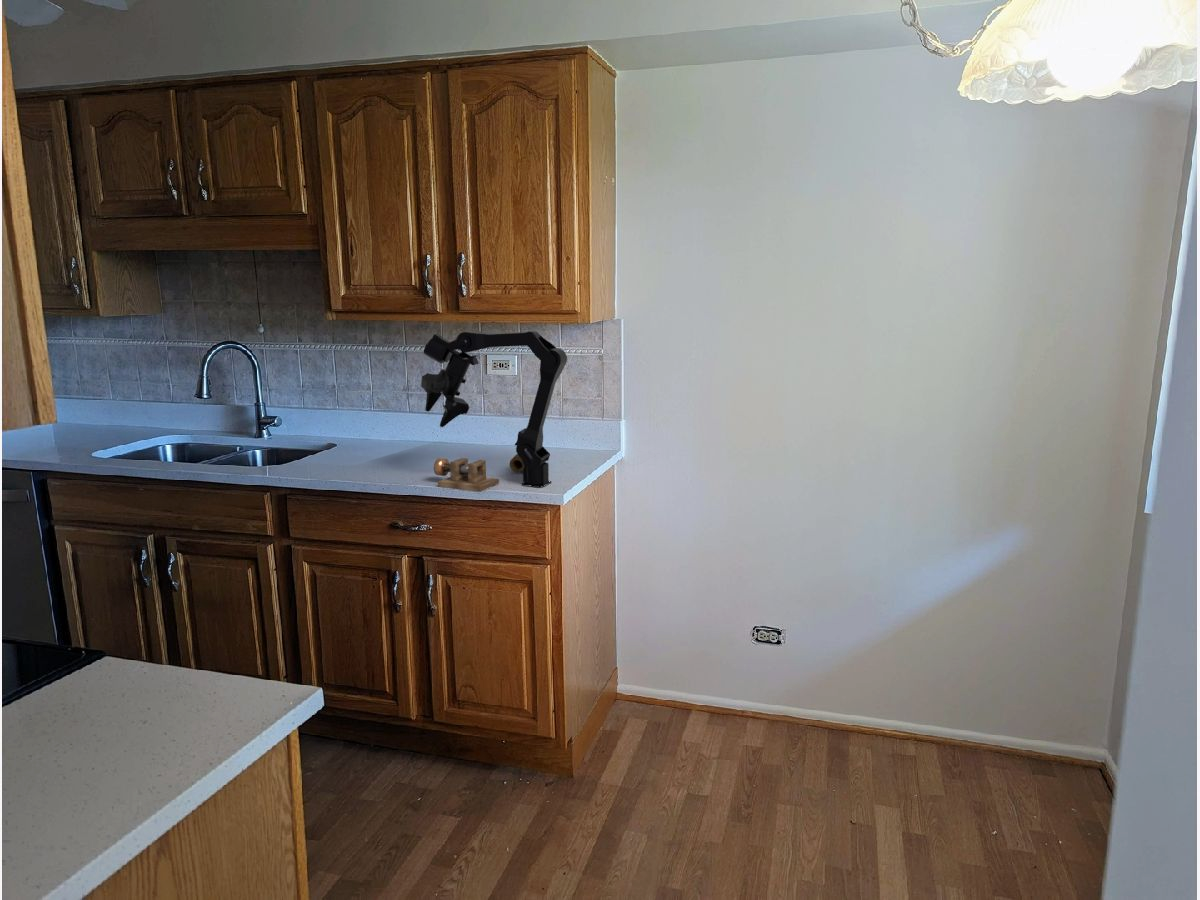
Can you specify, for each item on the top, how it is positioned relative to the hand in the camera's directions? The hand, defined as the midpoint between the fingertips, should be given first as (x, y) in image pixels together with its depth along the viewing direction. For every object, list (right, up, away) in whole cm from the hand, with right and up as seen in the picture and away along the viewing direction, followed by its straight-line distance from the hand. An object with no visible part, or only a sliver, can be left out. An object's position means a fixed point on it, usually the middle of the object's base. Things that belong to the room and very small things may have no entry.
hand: (434, 418), depth 248 cm
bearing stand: (+11, -19, -5) cm, 22 cm away
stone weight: (+26, -15, +16) cm, 34 cm away
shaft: (+7, -17, -3) cm, 19 cm away
